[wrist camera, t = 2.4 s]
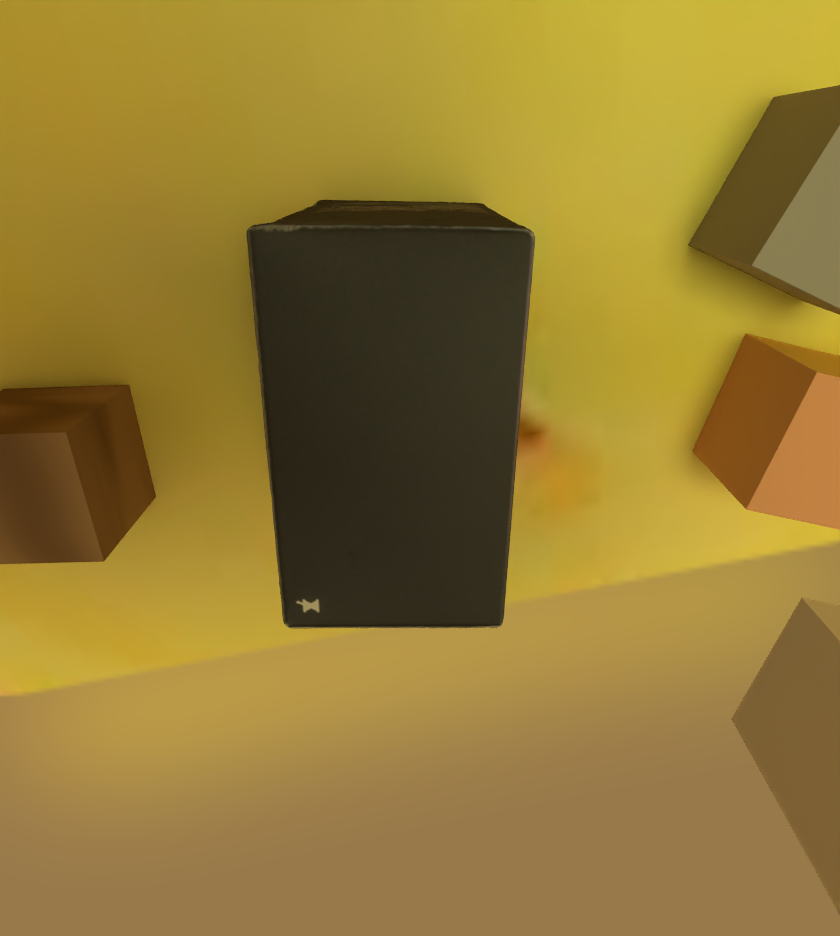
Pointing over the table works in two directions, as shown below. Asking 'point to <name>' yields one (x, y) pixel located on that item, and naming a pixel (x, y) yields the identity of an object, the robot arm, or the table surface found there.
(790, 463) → the terracotta cube
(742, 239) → the slate cube
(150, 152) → the table surface
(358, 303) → the small box
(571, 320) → the table surface
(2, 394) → the walnut cube
